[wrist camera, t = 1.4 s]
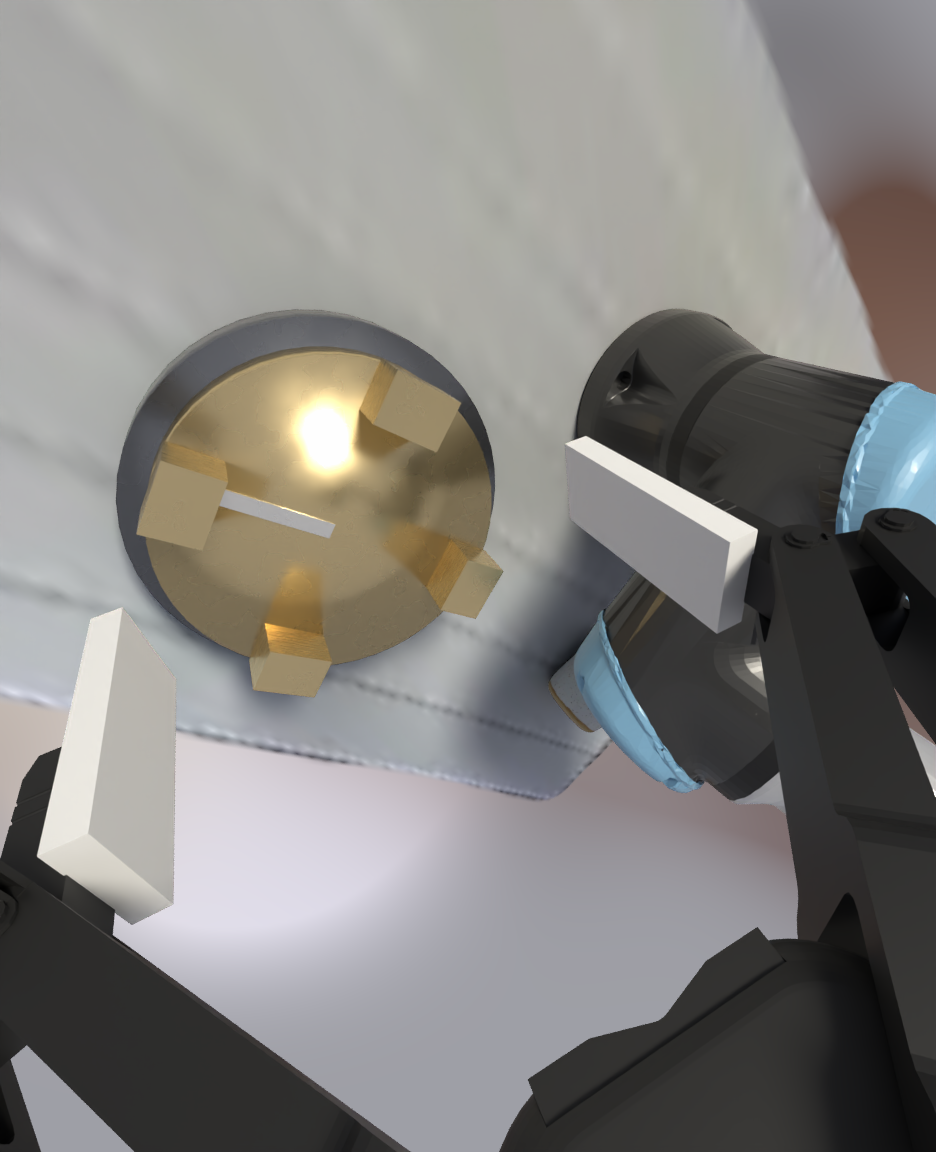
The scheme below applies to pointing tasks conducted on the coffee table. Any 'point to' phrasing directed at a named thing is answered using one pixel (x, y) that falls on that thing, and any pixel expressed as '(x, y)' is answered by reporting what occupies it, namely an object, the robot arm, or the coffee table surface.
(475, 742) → the coffee table surface
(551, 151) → the coffee table surface
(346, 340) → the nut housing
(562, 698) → the ceramic mug
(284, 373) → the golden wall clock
